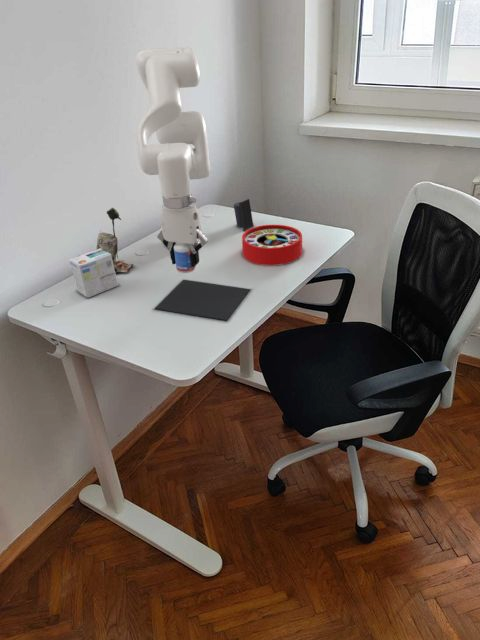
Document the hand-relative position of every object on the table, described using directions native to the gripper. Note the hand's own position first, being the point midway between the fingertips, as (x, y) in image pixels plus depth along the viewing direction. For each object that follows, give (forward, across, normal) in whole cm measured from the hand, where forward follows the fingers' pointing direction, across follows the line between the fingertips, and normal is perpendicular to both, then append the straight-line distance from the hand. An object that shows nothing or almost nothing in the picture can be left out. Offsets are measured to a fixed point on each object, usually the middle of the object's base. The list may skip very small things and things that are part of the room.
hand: (185, 262), depth 147 cm
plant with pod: (+11, +31, -9) cm, 34 cm away
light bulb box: (+11, +29, +4) cm, 31 cm away
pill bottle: (+2, 0, 0) cm, 2 cm away
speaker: (+11, +4, -54) cm, 55 cm away
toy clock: (+11, -14, -35) cm, 39 cm away
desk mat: (+11, -5, +1) cm, 12 cm away
